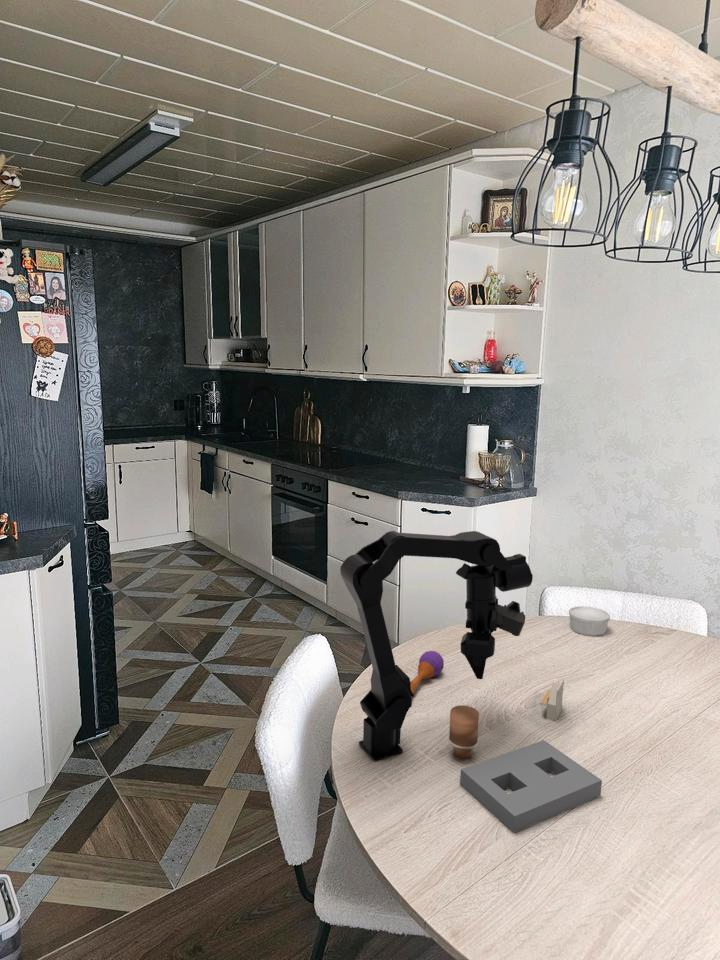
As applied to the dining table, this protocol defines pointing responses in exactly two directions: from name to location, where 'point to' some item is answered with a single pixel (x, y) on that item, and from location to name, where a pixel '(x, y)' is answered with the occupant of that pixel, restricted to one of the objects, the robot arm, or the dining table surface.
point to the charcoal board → (529, 784)
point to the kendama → (428, 667)
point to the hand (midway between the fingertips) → (481, 667)
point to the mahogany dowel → (463, 731)
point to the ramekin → (588, 620)
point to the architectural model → (553, 700)
